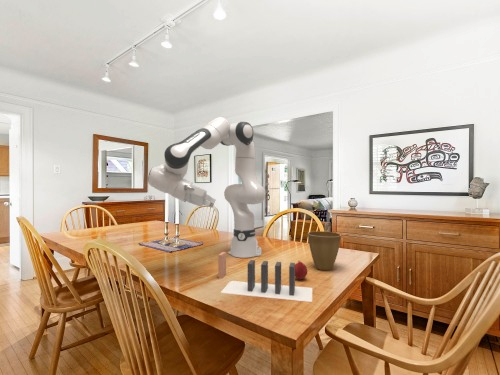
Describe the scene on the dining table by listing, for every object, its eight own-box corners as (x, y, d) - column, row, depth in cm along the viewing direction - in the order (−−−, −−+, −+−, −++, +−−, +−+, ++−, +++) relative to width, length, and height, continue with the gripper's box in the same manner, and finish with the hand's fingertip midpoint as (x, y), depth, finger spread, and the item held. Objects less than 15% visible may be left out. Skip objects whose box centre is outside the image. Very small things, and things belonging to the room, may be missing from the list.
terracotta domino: (222, 274, 114) (222, 251, 114) (226, 275, 114) (225, 252, 114) (218, 279, 110) (218, 254, 109) (222, 279, 109) (221, 255, 109)
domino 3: (276, 288, 99) (276, 261, 99) (281, 288, 98) (281, 261, 98) (275, 293, 94) (274, 265, 94) (279, 294, 94) (279, 266, 93)
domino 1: (250, 286, 101) (250, 259, 101) (255, 286, 101) (254, 260, 101) (247, 291, 96) (247, 263, 96) (251, 291, 96) (251, 264, 96)
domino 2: (263, 287, 100) (263, 260, 100) (267, 287, 100) (267, 261, 99) (261, 292, 95) (261, 264, 95) (265, 292, 95) (265, 265, 95)
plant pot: (343, 274, 114) (343, 237, 114) (307, 272, 117) (307, 236, 117) (338, 264, 129) (338, 231, 129) (307, 262, 132) (307, 230, 132)
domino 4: (290, 289, 98) (290, 262, 97) (294, 290, 97) (294, 262, 97) (289, 295, 93) (289, 266, 93) (293, 295, 92) (293, 267, 92)
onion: (305, 277, 111) (305, 258, 111) (308, 282, 105) (308, 262, 105) (291, 277, 111) (291, 258, 111) (294, 282, 105) (294, 262, 105)
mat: (230, 281, 107) (230, 280, 107) (312, 288, 99) (312, 287, 99) (220, 293, 95) (220, 292, 95) (312, 302, 87) (312, 301, 87)
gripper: (187, 177, 105) (219, 192, 106) (188, 189, 124) (215, 201, 125) (180, 191, 103) (212, 206, 104) (182, 201, 122) (209, 213, 123)
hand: (214, 203), depth 115 cm, fingers open, 8 cm apart
